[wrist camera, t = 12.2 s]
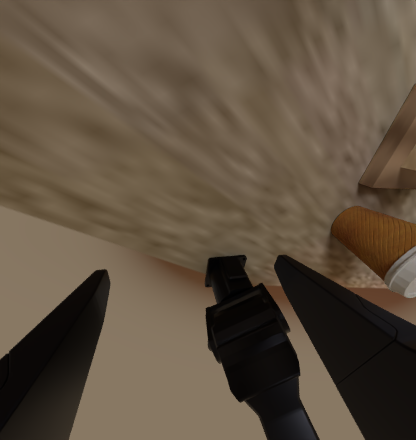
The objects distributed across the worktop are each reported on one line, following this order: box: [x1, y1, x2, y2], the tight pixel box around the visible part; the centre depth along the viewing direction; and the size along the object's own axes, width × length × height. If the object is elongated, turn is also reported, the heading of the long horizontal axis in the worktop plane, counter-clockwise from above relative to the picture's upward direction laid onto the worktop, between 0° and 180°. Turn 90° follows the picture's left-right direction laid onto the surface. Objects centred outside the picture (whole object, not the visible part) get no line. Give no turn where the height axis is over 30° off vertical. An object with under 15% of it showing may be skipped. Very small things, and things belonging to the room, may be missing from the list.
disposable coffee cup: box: [331, 206, 416, 298], centre depth 25 cm, size 10×10×12 cm
